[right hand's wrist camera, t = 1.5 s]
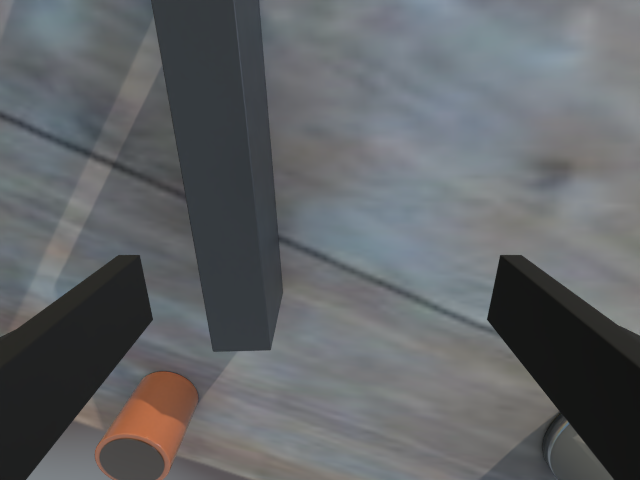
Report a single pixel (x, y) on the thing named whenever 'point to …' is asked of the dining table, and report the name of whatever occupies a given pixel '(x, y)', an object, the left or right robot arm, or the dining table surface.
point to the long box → (225, 162)
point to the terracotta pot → (148, 429)
